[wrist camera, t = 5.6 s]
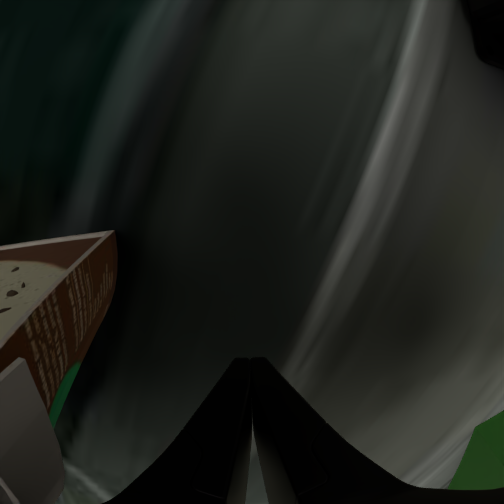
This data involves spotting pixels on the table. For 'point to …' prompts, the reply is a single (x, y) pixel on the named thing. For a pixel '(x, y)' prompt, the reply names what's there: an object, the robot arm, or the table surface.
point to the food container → (45, 350)
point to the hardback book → (483, 458)
